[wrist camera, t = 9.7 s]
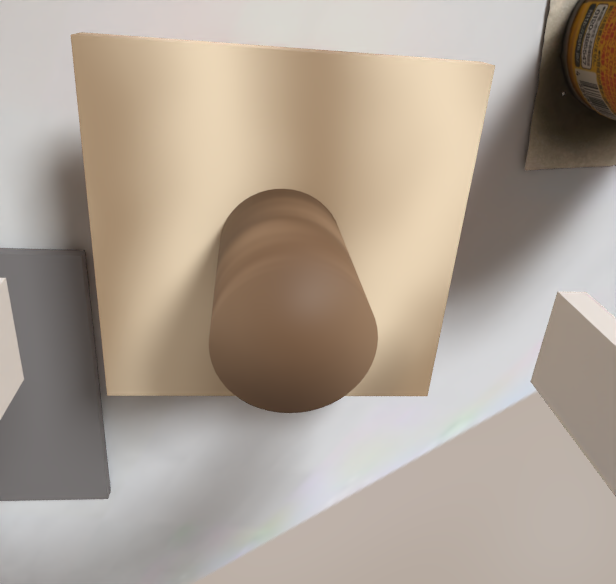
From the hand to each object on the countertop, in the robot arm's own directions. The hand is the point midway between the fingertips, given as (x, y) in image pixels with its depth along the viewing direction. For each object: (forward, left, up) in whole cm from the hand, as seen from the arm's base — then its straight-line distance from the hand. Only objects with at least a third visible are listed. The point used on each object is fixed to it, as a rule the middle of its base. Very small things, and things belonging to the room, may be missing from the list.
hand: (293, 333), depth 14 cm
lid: (0, 0, -7) cm, 7 cm away
